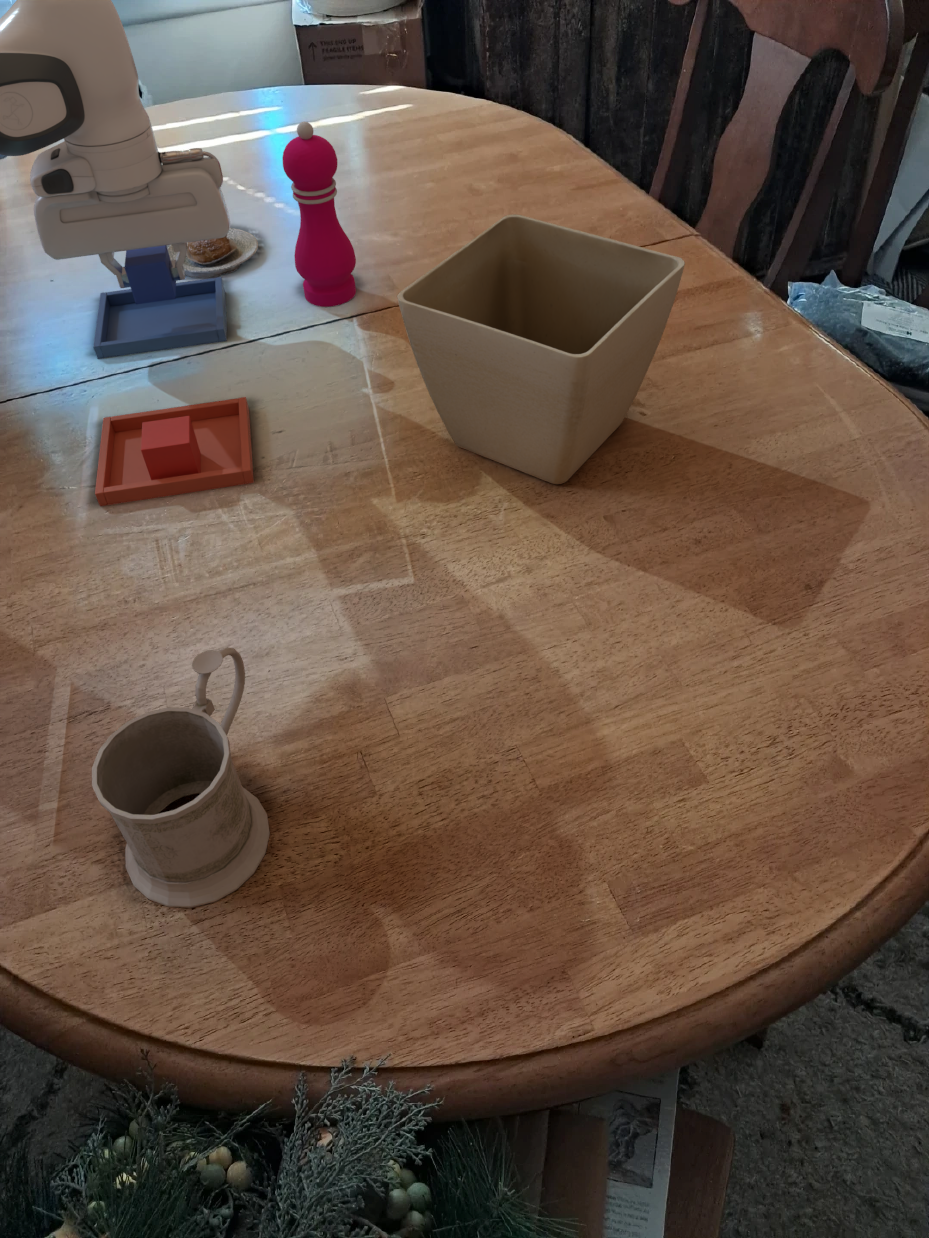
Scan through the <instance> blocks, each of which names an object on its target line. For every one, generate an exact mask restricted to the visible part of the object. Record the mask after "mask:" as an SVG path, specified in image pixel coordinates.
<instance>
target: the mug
mask: <svg viewBox="0 0 929 1238" xmlns="http://www.w3.org/2000/svg"><path fill="white" fill-rule="evenodd" d="M228 656H230V657H231V658H232V661H233V666H234V673H235V674H234V686H233V690H232V694H231V698H230V700H229V702H228V706H227V708H226V710H225V713H224V716H223V718H222V719H221V722H218V721H217V720H216V719H215V718H213V717H212V714H214V711H215V709H216V708H215V706H214V703H213V701H212V699H209V698H207V687H208V682H209V679H210V677H211V675H212V673H213V672H215V671H217V670H218V669H219V668H220V667H221V666H222V664H223V661H224V659H225V658H226V657H228ZM191 667H192V670H193V671H194V673H196V674H198V676H197V679H196V683H195V699H196V700H195V701H194V703H193V704H192V706H193V707H191V708H190V707H170V706H169V707H163V708H159V709H154V710H150V711H147V712H145V713H143V714H140V715H138V716H135V717H134V718H132V719H130V720H128V721H126V722H125V723H124V724H123V725H121V726H120V727H118V728H117V729H116V730H115V731H113V732H112V733H111V734H110V735H109V736H108V738H107V739H106V740H105V742H104V743H103V744H102V745H101V747H100V748H99V749H98V751H97V754H96V757H95V759H94V762H93V764H92V767H91V787H92V789H93V792H94V794H95V796H96V798H97V800H98V802H99V804H100V806H101V807H102V808H104V809H105V810H106V811H107V812H108V813H110V815H111V817H112V819H113V821H114V823H115V824H116V826H117V828H118V829H119V831H120V833H121V836H122V837H123V839H124V841H125V842H126V845H125V848H124V849H125V853H124V854H125V855H124V857H125V870H126V872H127V874H128V876H129V879H130V881H131V883H132V885H133V887H134V888H136V890H137V891H138V892H140V893H141V894H142V896H144V897H145V898H146V899H147V900H149V901H152V902H155V903H157V904H159V905H162V906H165V907H168V908H185V909H186V908H189V909H191V908H195V907H199V906H203V905H208V904H211V903H216V902H217V901H219V900H221V899H223V898H225V897H226V896H228V895H230V894H231V893H233V892H235V891H238V889H239V888H241V886H242V885H243V884H244V883H246V882H247V881H248V880H249V879H250V878H251V877H252V876H253V875H254V874H255V872H256V871H257V869H258V867H260V866H259V865H260V864H261V862H262V861H263V859H264V857H265V855H266V853H267V850H268V849H267V848H268V843H269V840H270V836H271V833H270V826H269V818H268V813H267V812H266V810H265V809H264V806H263V805H262V803H261V802H260V800H259V798H258V797H257V796H255V795H253V793H251V792H250V791H248V789H246V788H245V787H243V786H242V783H241V780H240V778H239V777H240V776H239V775H238V774H239V773H238V772H237V769H236V767H235V764H234V760H233V758H232V754H231V746H230V745H231V744H230V739H229V737H228V734H229V731H230V729H231V726H232V724H233V721H234V719H235V717H236V714H237V712H238V710H239V706H240V704H241V701H242V698H243V695H244V690H245V683H246V670H245V664H244V659H243V658H242V656H241V654H240V652H238V651H237V650H236V648H235V647H228V646H227V647H224V648H221V649H218V650H214V649H211V650H205V651H202V652H200V653H199V654H197V655H196V656H195V657H194V658H193V661H192V664H191ZM196 794H197V796H196V797H195V798H194V799H192V800H191V801H189V802H187V803H185V804H183V805H181V806H179V807H177V808H175V809H171V810H169V811H164V809H166V808H167V807H168V806H169V805H170V804H173V803H174V802H176V801H178V800H179V799H181V798H183V797H188V796H192V795H196ZM198 794H199V795H198ZM162 811H164V812H162Z"/></svg>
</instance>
